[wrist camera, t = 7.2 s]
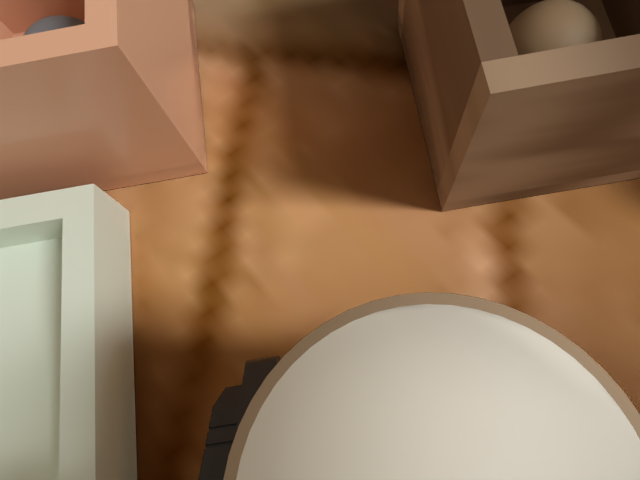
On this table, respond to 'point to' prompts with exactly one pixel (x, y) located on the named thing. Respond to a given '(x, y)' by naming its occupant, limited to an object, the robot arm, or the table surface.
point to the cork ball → (554, 26)
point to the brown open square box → (521, 100)
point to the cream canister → (436, 401)
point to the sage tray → (66, 338)
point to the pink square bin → (99, 95)
